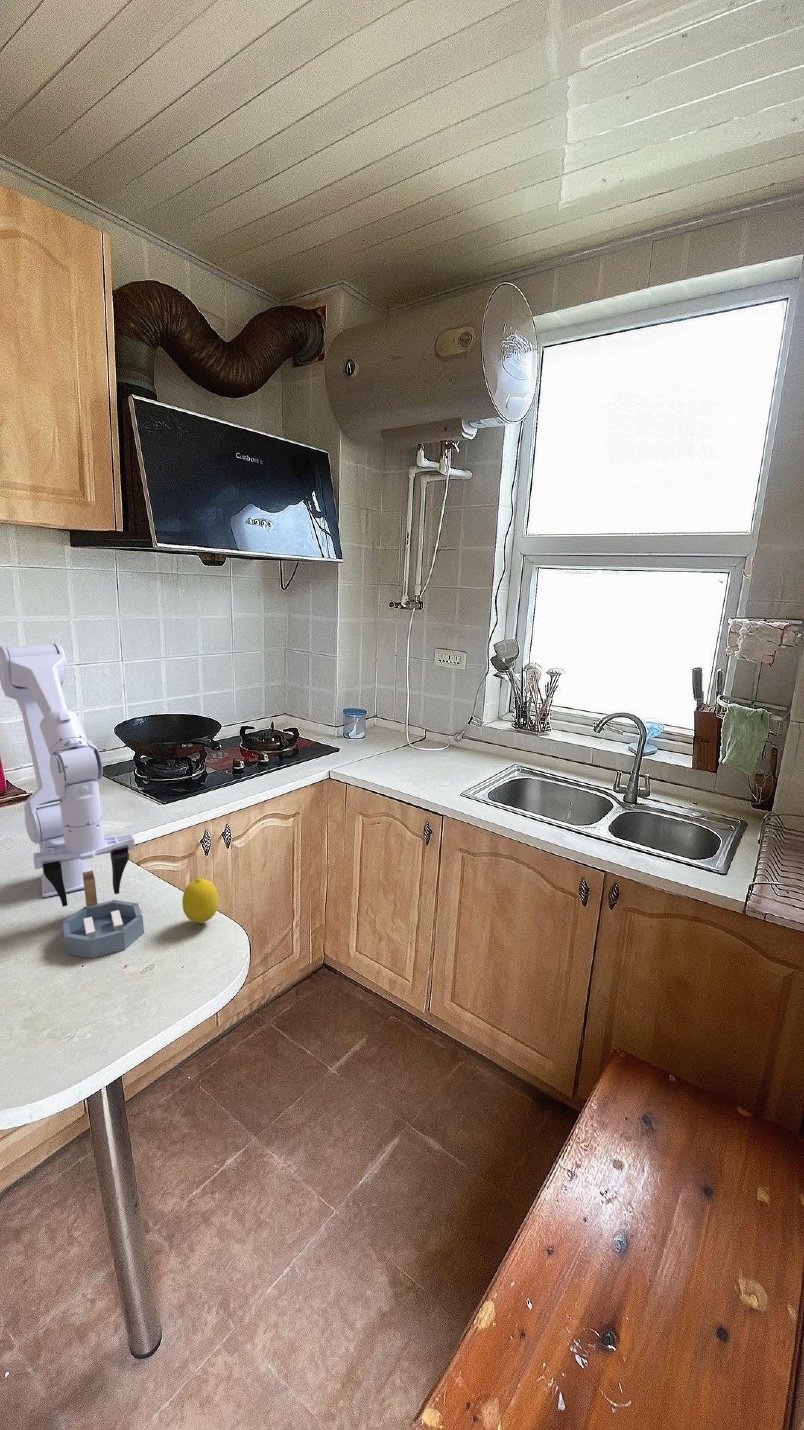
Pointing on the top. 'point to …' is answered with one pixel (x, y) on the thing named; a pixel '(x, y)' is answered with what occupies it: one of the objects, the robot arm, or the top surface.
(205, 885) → the lemon
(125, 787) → the top surface
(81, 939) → the octagonal blue tray
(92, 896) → the brown wooden plank
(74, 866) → the robot arm
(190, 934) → the top surface
